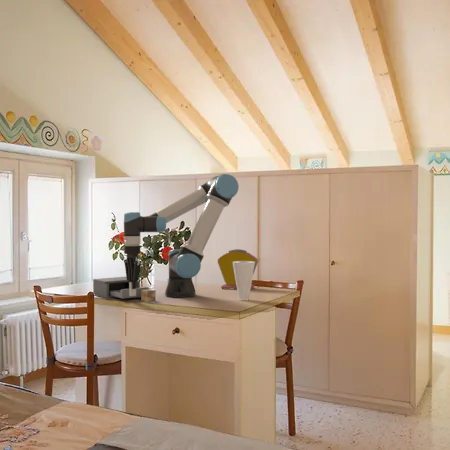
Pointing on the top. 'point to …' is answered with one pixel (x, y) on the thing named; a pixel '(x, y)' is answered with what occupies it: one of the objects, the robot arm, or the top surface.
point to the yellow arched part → (227, 265)
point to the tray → (126, 293)
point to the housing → (110, 286)
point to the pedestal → (148, 295)
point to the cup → (243, 277)
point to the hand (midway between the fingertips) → (132, 295)
